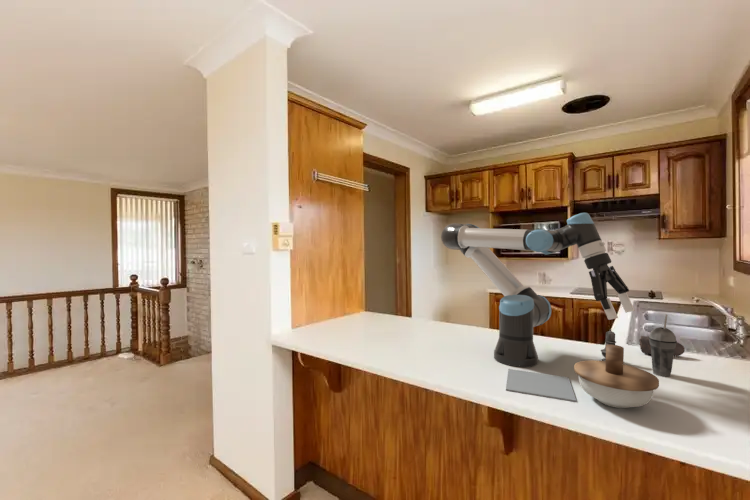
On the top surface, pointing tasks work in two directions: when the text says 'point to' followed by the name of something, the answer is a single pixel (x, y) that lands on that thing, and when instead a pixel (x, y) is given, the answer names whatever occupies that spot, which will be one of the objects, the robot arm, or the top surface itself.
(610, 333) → the salt shaker
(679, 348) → the perforated stone tool
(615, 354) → the lid
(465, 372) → the top surface
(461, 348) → the top surface
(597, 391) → the cereal bowl
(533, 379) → the mat
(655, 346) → the beverage cup
